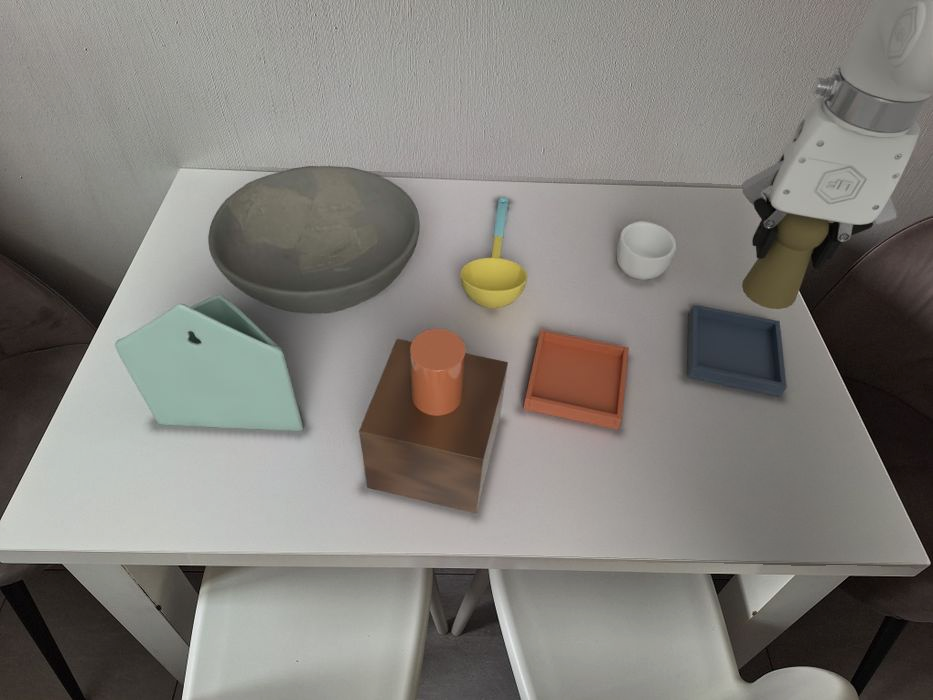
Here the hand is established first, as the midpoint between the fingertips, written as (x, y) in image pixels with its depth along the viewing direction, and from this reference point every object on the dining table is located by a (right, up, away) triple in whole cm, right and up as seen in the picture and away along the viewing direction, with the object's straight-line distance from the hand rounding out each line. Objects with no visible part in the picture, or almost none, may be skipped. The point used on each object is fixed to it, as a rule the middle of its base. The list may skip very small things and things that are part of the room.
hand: (787, 254), depth 71 cm
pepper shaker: (0, -4, +5) cm, 6 cm away
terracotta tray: (-22, -14, +9) cm, 27 cm away
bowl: (-54, 0, +19) cm, 58 cm away
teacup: (-10, +2, +24) cm, 26 cm away
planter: (-61, -16, +5) cm, 64 cm away
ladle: (-31, +3, +23) cm, 39 cm away
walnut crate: (-38, -22, +2) cm, 44 cm away
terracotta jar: (-38, -15, -7) cm, 41 cm away
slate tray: (-1, -11, +13) cm, 17 cm away
